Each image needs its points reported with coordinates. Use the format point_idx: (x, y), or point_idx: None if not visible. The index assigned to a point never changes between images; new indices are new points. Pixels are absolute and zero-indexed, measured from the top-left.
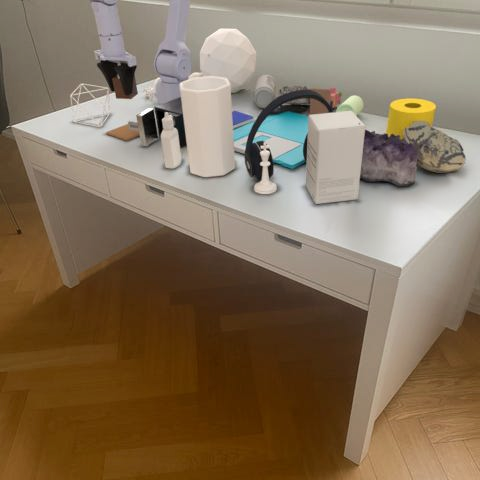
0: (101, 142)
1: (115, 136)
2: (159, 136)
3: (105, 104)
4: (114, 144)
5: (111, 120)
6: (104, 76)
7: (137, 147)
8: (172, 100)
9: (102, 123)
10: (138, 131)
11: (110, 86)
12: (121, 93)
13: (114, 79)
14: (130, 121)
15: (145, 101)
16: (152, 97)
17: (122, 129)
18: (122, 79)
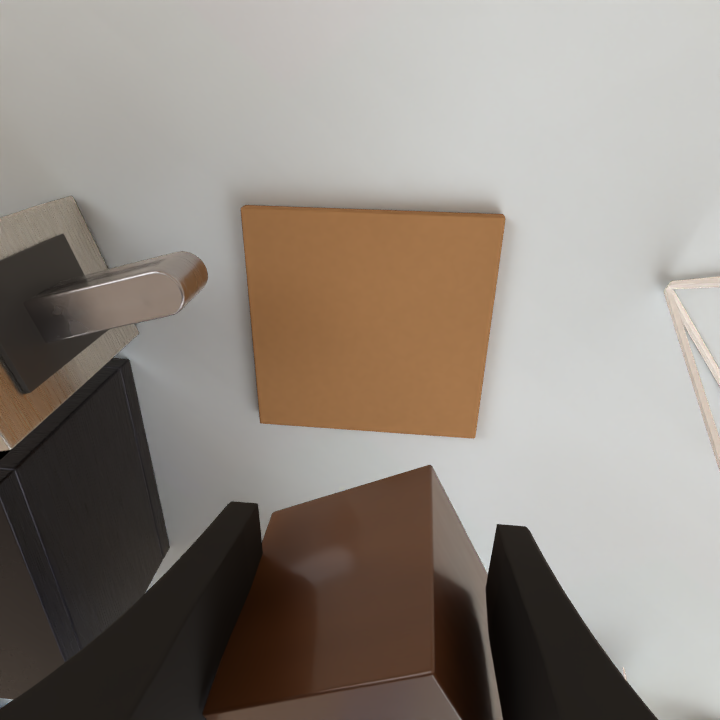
0: (397, 59)
1: (382, 210)
2: (119, 362)
3: (717, 462)
4: (267, 98)
5: (679, 418)
6: (630, 689)
7: (83, 165)
8: (39, 623)
9: (696, 339)
10: (297, 353)
11: (513, 566)
12: (351, 525)
13: (398, 663)
14: (148, 286)
15: (623, 674)
16: None
17: (430, 323)
18: (90, 651)
